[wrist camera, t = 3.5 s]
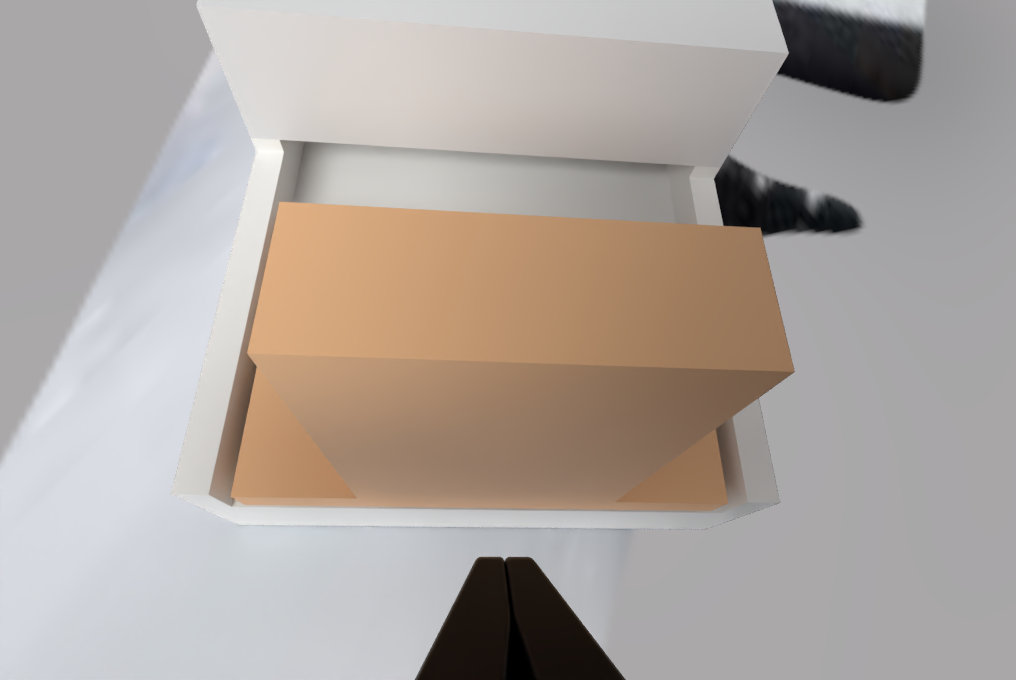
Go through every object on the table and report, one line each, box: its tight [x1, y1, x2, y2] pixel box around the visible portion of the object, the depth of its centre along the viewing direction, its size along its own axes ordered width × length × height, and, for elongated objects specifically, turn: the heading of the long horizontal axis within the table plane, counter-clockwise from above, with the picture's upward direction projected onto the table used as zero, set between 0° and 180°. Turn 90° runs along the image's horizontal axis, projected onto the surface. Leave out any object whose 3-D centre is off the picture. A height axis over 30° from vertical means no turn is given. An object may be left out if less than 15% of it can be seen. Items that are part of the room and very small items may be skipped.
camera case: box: [171, 0, 789, 529], centre depth 18 cm, size 22×14×9 cm, turn 0°
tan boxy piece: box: [230, 202, 794, 511], centre depth 12 cm, size 8×12×9 cm
